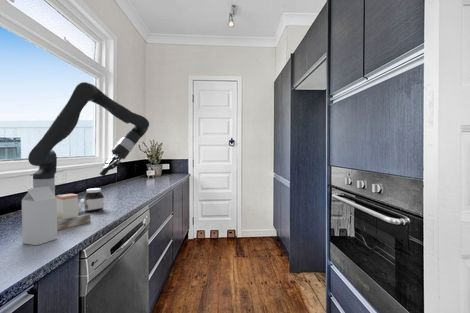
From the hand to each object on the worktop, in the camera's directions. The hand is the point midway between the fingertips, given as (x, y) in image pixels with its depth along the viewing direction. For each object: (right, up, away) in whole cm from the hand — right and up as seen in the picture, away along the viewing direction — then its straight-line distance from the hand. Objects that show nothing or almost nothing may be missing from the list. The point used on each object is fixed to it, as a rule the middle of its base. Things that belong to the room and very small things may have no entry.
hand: (101, 175), depth 123 cm
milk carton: (-3, -21, -34) cm, 40 cm away
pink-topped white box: (-7, -19, -14) cm, 25 cm away
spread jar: (-12, -20, +10) cm, 25 cm away
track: (-7, -20, -15) cm, 26 cm away
